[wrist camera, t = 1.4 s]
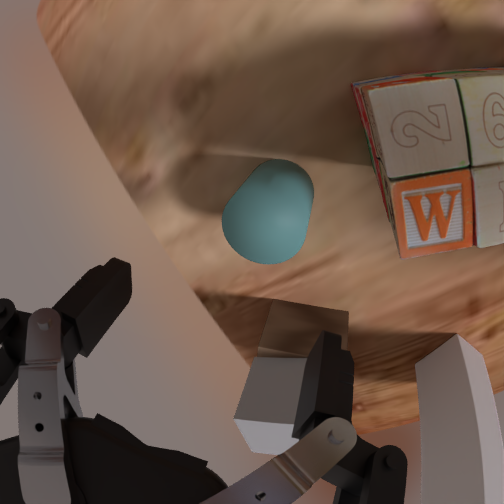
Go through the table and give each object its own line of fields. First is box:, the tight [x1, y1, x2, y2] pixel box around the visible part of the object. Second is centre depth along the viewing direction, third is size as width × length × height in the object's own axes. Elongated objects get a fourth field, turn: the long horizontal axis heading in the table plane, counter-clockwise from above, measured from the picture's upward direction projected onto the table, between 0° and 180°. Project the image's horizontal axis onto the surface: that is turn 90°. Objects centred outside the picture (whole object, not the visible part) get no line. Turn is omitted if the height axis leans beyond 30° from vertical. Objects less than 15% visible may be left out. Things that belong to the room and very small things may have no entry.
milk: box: [415, 334, 504, 504], centre depth 19 cm, size 6×6×22 cm
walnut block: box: [257, 299, 349, 358], centre depth 28 cm, size 7×7×6 cm
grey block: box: [233, 357, 307, 455], centre depth 23 cm, size 6×6×6 cm
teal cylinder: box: [222, 159, 314, 264], centre depth 21 cm, size 5×5×6 cm
